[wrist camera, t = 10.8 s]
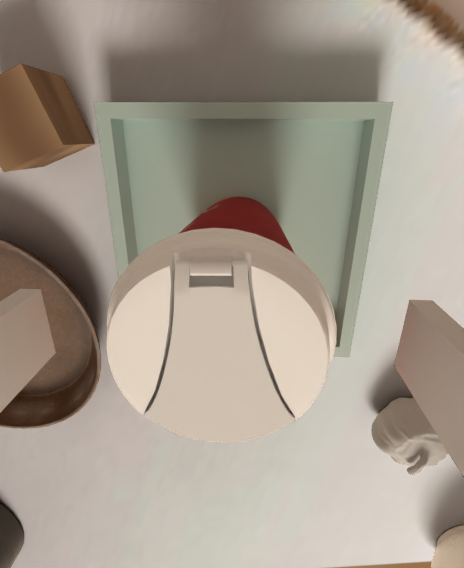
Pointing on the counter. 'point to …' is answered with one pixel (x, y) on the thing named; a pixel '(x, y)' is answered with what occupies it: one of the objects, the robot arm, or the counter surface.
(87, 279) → the counter surface
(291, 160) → the tray
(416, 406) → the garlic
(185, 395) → the paper cup
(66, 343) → the plant saucer
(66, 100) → the walnut block
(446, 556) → the lidded jar
